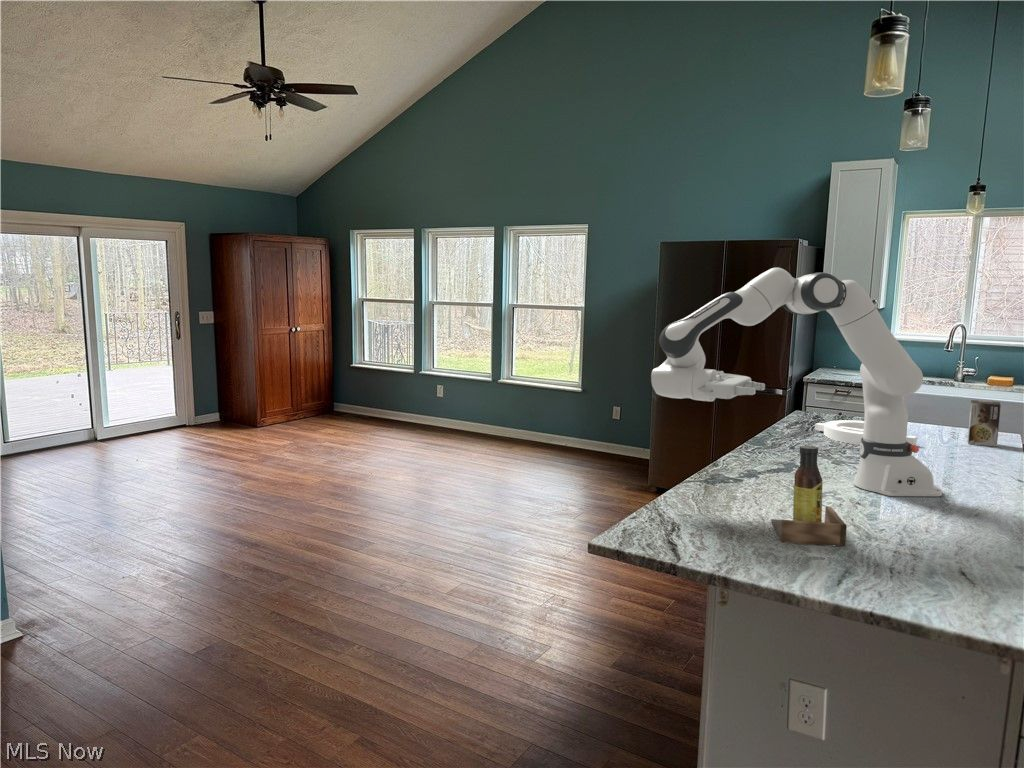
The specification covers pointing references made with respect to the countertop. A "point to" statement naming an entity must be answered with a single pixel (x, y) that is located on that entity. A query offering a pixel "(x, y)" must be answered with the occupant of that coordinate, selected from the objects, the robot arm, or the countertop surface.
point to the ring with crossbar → (848, 431)
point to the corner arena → (813, 530)
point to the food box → (984, 423)
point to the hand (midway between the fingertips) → (759, 389)
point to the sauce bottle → (808, 487)
